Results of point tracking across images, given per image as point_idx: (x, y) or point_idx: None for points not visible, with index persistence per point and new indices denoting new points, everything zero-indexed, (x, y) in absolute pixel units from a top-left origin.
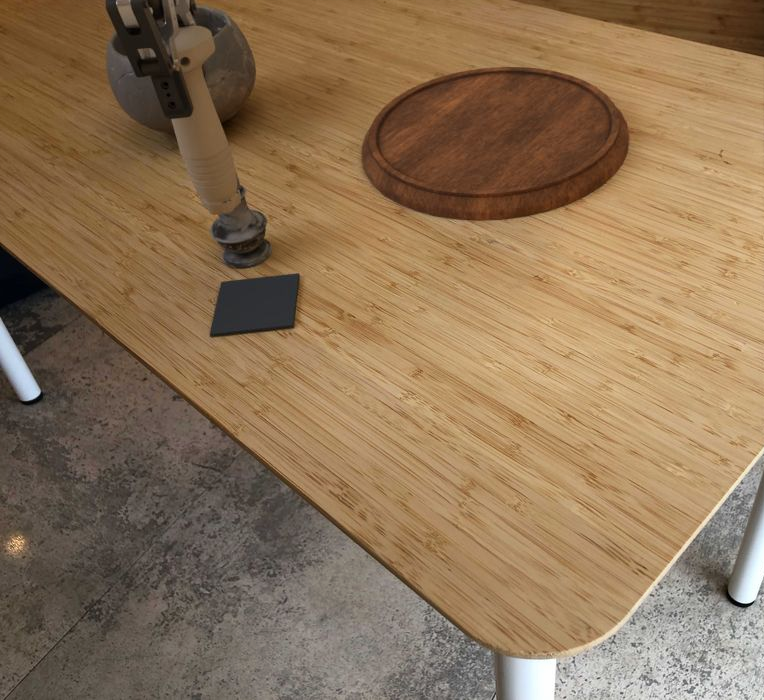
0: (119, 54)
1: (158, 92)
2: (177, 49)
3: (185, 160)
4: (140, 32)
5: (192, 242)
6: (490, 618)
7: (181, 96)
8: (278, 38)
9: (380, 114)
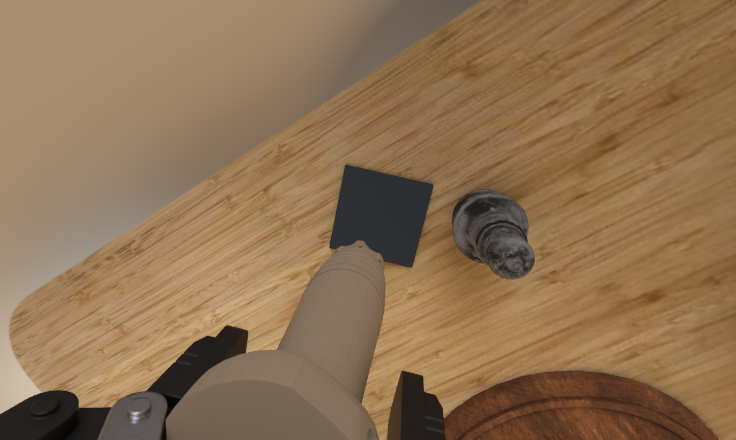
0: None
1: (164, 372)
2: None
3: (321, 272)
4: None
5: (541, 155)
6: (28, 310)
7: None
8: None
9: (686, 434)
